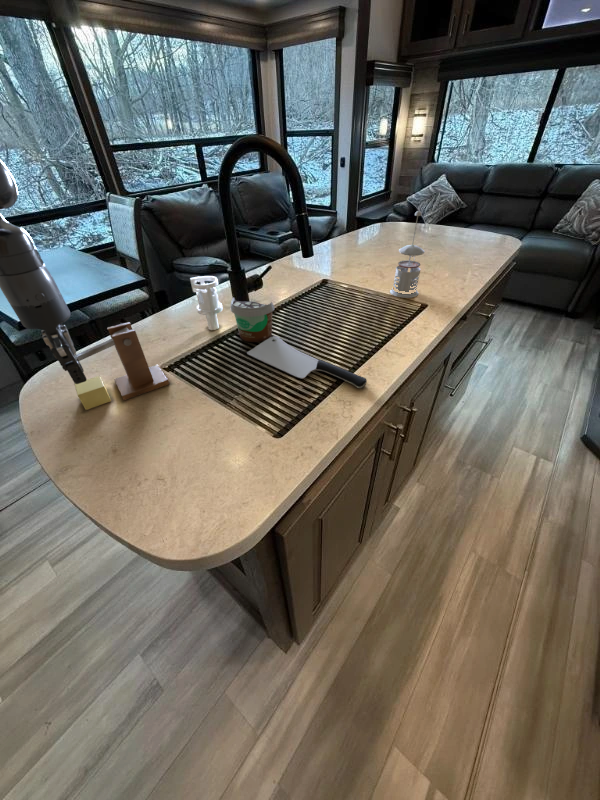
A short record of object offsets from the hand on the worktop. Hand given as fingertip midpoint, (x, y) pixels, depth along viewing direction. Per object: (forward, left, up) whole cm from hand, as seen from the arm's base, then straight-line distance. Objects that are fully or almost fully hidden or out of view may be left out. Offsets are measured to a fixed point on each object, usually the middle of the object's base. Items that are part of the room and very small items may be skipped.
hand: (79, 377), depth 68 cm
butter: (+1, +1, -6) cm, 6 cm away
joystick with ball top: (+4, +4, +3) cm, 6 cm away
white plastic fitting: (+13, +36, -6) cm, 39 cm away
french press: (+70, +72, -6) cm, 101 cm away
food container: (+27, +32, -6) cm, 42 cm away
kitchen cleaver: (+43, +20, -6) cm, 48 cm away
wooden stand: (+7, +7, -6) cm, 12 cm away
